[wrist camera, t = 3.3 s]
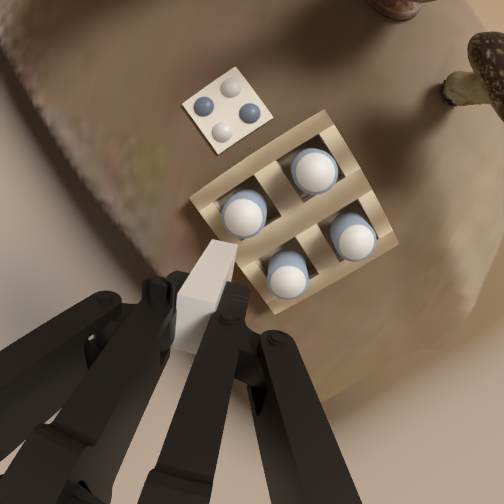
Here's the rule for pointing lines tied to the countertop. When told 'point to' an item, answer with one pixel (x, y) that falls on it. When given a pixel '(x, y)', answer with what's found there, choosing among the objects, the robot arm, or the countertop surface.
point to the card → (227, 110)
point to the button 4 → (352, 237)
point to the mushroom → (479, 75)
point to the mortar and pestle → (398, 7)
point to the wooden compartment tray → (296, 209)
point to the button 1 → (244, 213)
